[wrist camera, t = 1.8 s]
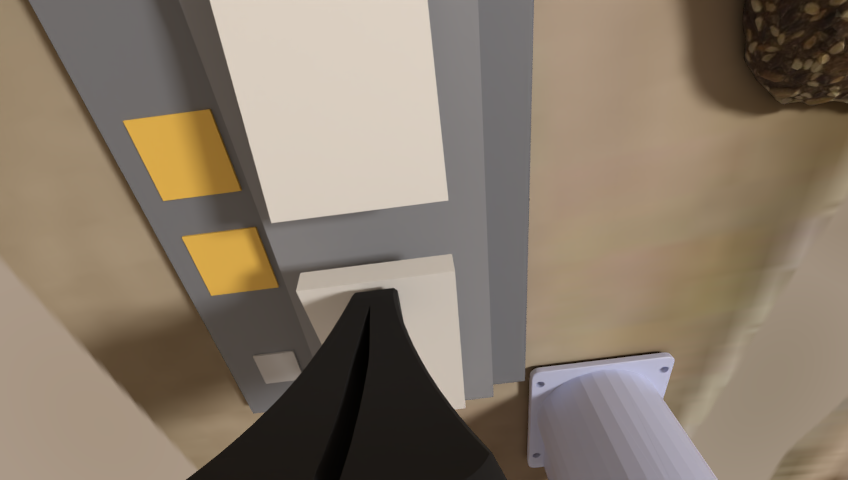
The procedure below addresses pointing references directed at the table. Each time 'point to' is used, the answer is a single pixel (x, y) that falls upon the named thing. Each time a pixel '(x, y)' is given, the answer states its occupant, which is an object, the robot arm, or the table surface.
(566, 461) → the robot arm
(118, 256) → the table surface
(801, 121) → the table surface
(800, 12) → the bread roll
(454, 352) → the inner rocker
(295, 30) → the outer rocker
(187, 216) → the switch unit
